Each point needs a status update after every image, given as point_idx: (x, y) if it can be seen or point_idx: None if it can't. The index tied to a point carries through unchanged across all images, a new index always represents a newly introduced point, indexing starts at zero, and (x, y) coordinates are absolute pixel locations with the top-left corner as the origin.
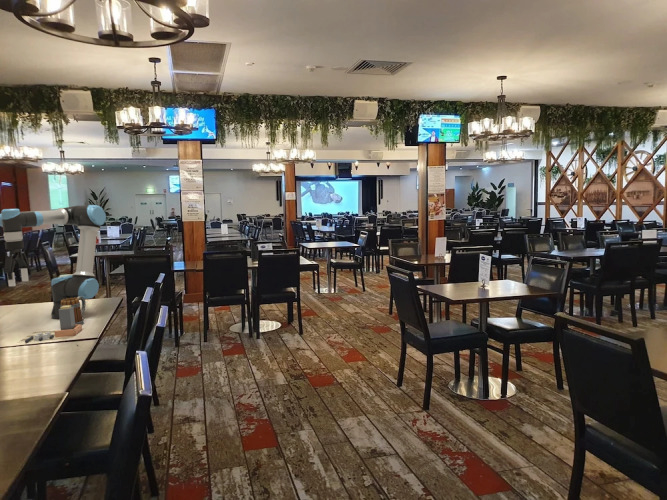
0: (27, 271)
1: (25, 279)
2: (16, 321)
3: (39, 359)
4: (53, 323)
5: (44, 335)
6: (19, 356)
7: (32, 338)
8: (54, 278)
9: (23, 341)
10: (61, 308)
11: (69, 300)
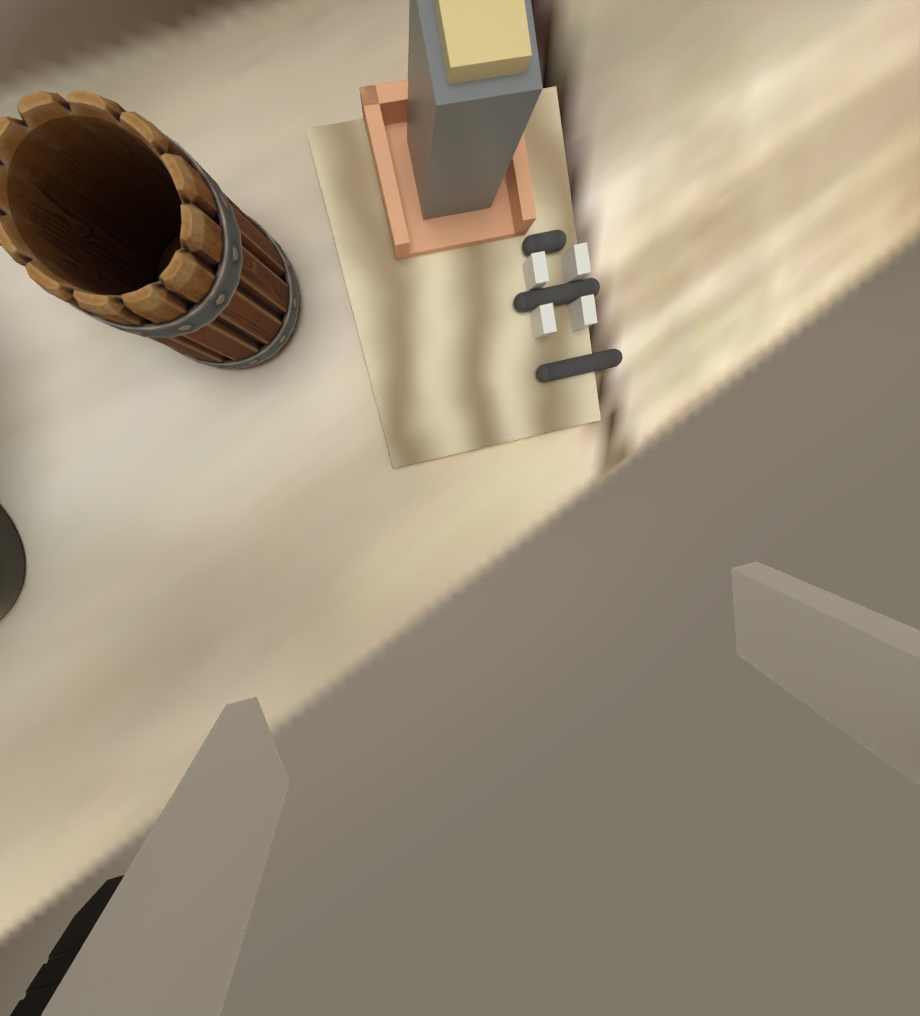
0: (95, 930)
1: (260, 758)
2: (109, 787)
3: (857, 107)
4: (140, 510)
5: (588, 259)
6: (784, 267)
7: (559, 361)
8: None
9: (585, 395)
10: (526, 53)
11: (46, 263)
